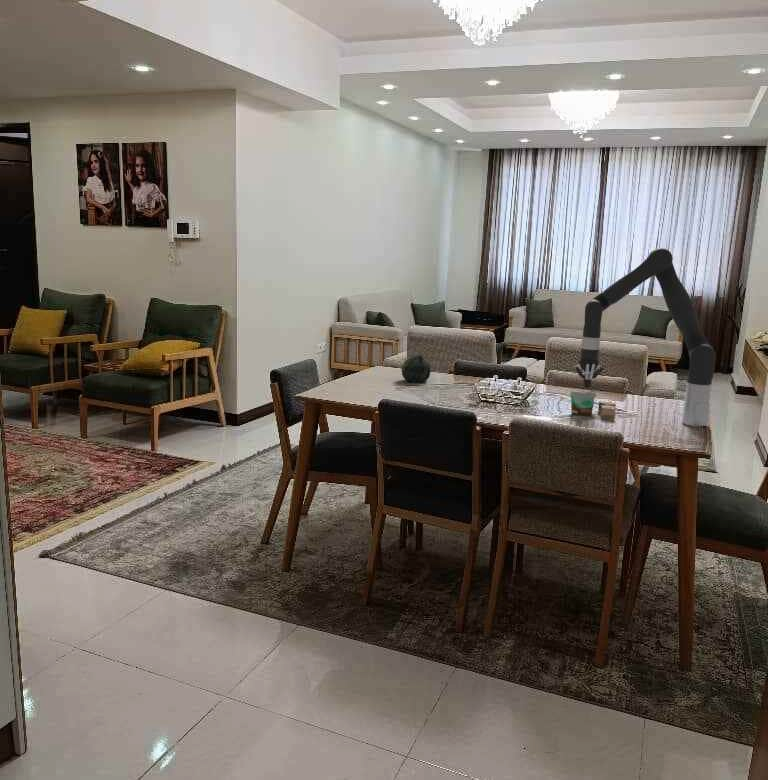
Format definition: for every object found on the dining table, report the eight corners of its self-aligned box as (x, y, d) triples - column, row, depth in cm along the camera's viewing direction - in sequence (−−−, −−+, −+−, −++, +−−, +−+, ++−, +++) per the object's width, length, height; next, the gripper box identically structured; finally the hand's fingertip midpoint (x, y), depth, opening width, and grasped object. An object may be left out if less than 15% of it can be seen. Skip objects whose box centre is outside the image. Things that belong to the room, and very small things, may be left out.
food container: (577, 417, 298) (579, 394, 296) (568, 413, 303) (570, 391, 301) (601, 415, 303) (603, 392, 301) (591, 411, 308) (593, 389, 306)
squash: (399, 367, 375) (403, 349, 363) (427, 368, 377) (432, 350, 365) (401, 389, 366) (405, 371, 354) (429, 390, 368) (434, 372, 356)
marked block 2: (614, 420, 294) (615, 408, 293) (601, 419, 295) (602, 407, 294) (612, 417, 299) (613, 405, 298) (600, 416, 300) (601, 404, 299)
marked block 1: (614, 415, 303) (615, 403, 302) (604, 415, 302) (605, 403, 301) (608, 412, 308) (609, 400, 307) (598, 412, 307) (599, 401, 306)
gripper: (578, 348, 293) (574, 389, 296) (609, 349, 294) (605, 389, 298) (571, 346, 300) (568, 385, 304) (602, 346, 301) (598, 386, 305)
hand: (586, 387), depth 301 cm, fingers closed
